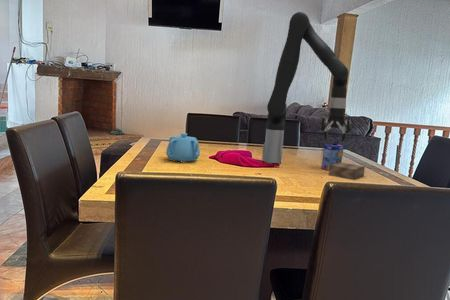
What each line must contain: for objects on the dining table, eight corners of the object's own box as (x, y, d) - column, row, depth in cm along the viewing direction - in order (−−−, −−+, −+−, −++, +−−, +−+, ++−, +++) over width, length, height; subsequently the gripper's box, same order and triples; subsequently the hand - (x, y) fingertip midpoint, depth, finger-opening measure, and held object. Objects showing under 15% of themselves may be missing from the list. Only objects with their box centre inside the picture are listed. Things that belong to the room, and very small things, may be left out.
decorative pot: (198, 164, 184) (199, 136, 182) (164, 162, 183) (165, 134, 181) (199, 158, 200) (201, 132, 198) (168, 156, 199) (169, 130, 197)
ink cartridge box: (330, 170, 189) (333, 141, 187) (320, 168, 193) (323, 139, 191) (341, 169, 195) (344, 140, 193) (332, 167, 199) (335, 139, 197)
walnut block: (328, 175, 179) (329, 165, 178) (338, 172, 188) (340, 162, 187) (354, 180, 172) (355, 169, 171) (363, 177, 181) (364, 166, 180)
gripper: (320, 106, 191) (318, 139, 193) (349, 108, 182) (346, 142, 185) (326, 106, 197) (323, 138, 199) (354, 108, 188) (351, 141, 191)
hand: (334, 140), depth 192 cm, fingers open, 8 cm apart
